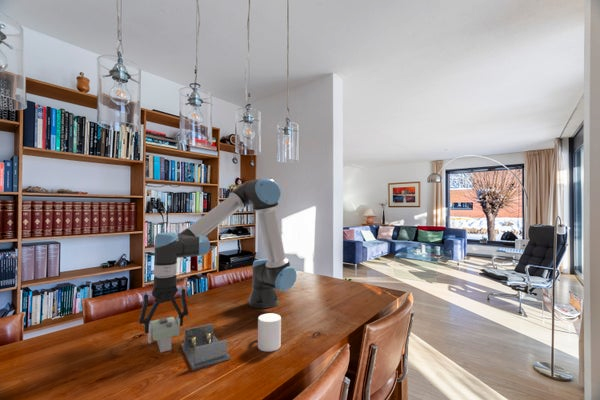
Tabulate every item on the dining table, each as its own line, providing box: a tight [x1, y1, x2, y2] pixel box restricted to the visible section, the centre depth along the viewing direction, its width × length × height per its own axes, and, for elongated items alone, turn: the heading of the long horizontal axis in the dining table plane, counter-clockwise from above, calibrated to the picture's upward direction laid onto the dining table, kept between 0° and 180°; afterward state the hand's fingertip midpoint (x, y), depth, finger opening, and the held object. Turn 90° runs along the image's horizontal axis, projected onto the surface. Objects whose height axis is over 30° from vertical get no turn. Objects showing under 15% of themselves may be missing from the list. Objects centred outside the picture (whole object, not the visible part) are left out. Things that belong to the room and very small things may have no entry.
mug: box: [257, 312, 282, 352], centre depth 104 cm, size 8×10×12 cm
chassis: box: [180, 322, 231, 371], centre depth 97 cm, size 18×12×6 cm, turn 33°
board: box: [150, 316, 179, 341], centre depth 102 cm, size 12×8×3 cm, turn 33°
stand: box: [156, 336, 173, 353], centre depth 102 cm, size 10×4×5 cm, turn 33°
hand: (163, 338), depth 102 cm, fingers open, 9 cm apart
